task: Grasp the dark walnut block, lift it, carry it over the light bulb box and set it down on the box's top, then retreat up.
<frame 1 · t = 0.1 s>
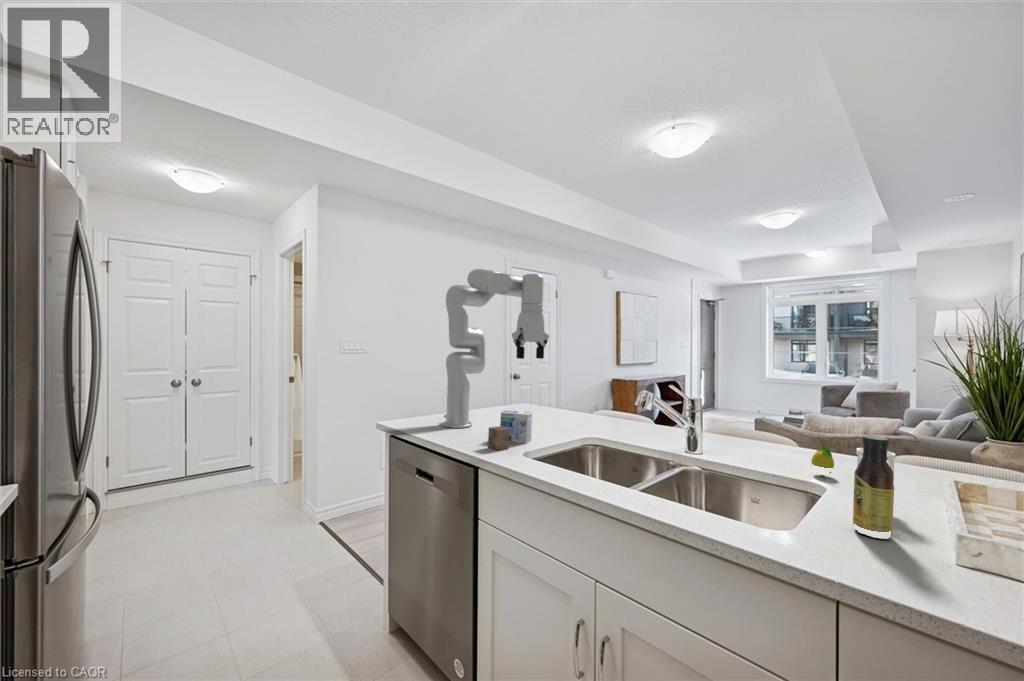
hand: (530, 358, 153), 31 cm above the worktop, tool pointing down, fingers open, 9 cm apart
light bulb box: (515, 441, 163), on the worktop
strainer: (873, 511, 103), on the worktop
walnut block: (498, 448, 150), on the worktop
sauce bottle: (872, 535, 89), on the worktop
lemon: (822, 477, 130), on the worktop
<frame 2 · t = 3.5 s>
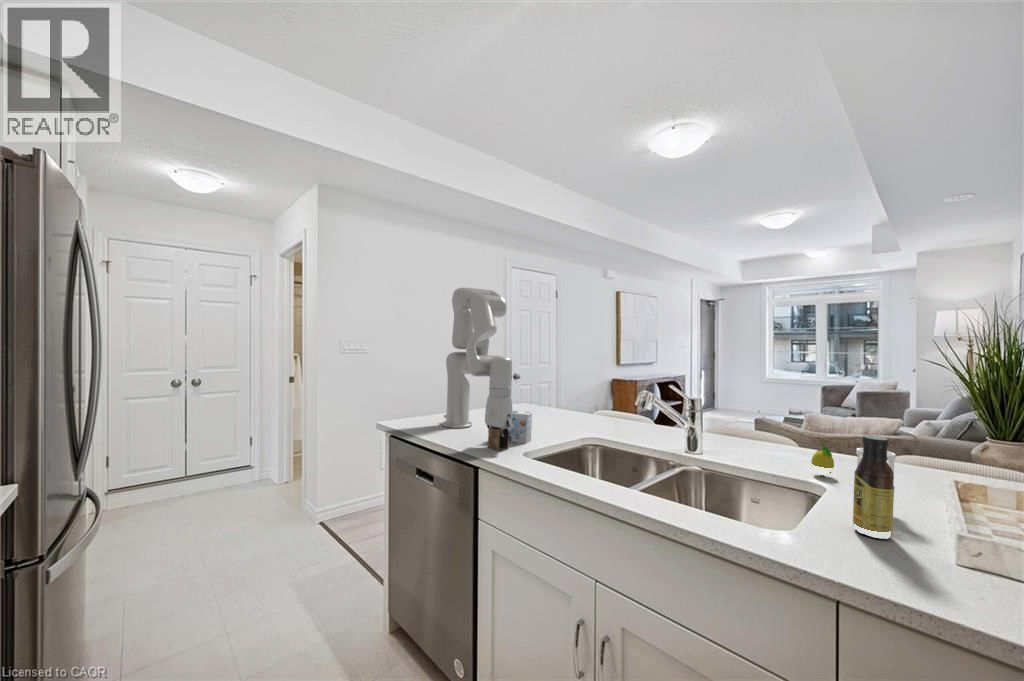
hand: (498, 445, 150), 1 cm above the worktop, tool pointing down, fingers closed on walnut block, 5 cm apart
walnut block: (498, 448, 150), on the worktop, touching gripper
everything else where it was.
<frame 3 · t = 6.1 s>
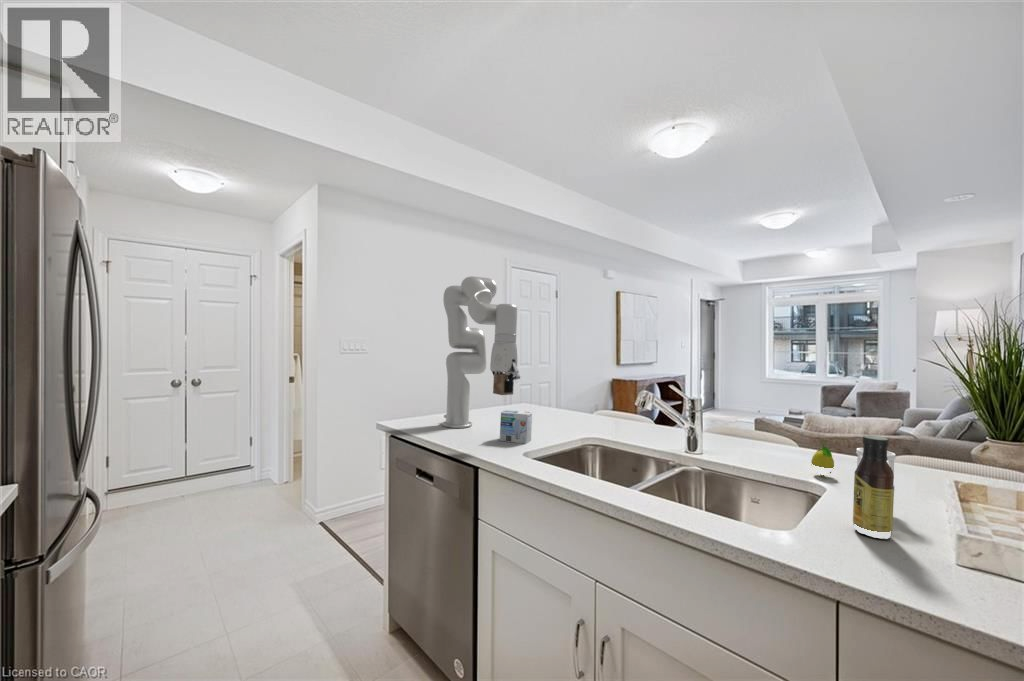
hand: (503, 391, 153), 19 cm above the worktop, tool pointing down, fingers closed on walnut block, 5 cm apart
walnut block: (503, 393, 153), point 18 cm above the worktop, touching gripper
everything else where it was.
when the fingers open (13 cm above the worktop, at t = 8.7 s): walnut block drops 2 cm, resting on light bulb box.
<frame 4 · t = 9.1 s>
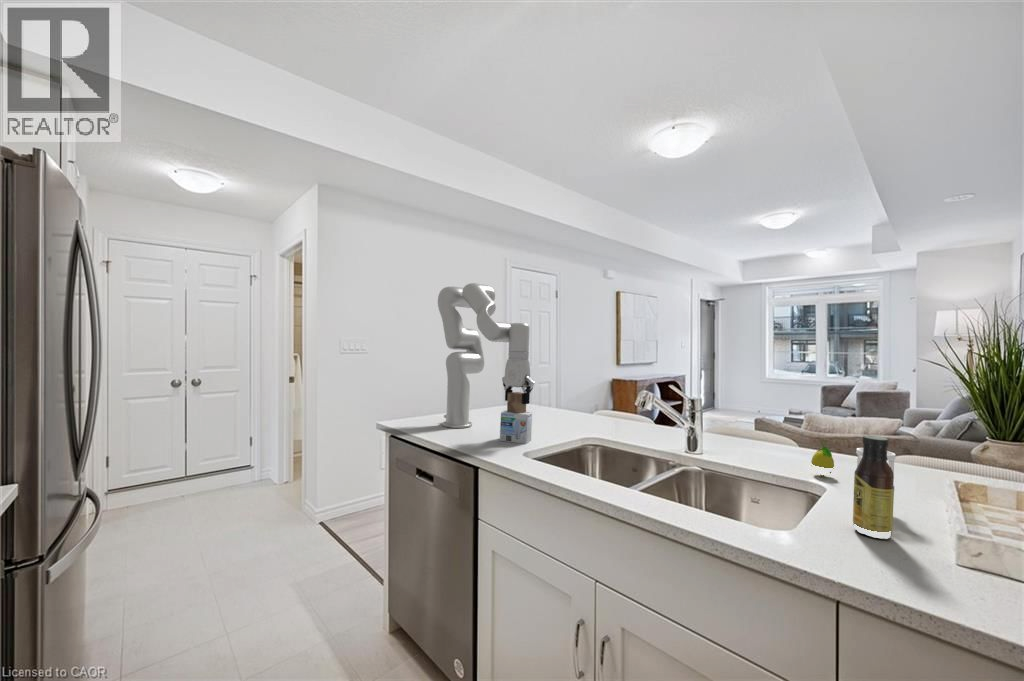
hand: (516, 402, 163), 14 cm above the worktop, tool pointing down, fingers open, 9 cm apart
light bulb box: (515, 441, 163), on the worktop, touching walnut block
walnut block: (516, 411, 163), point 11 cm above the worktop, touching light bulb box
everything else where it was.
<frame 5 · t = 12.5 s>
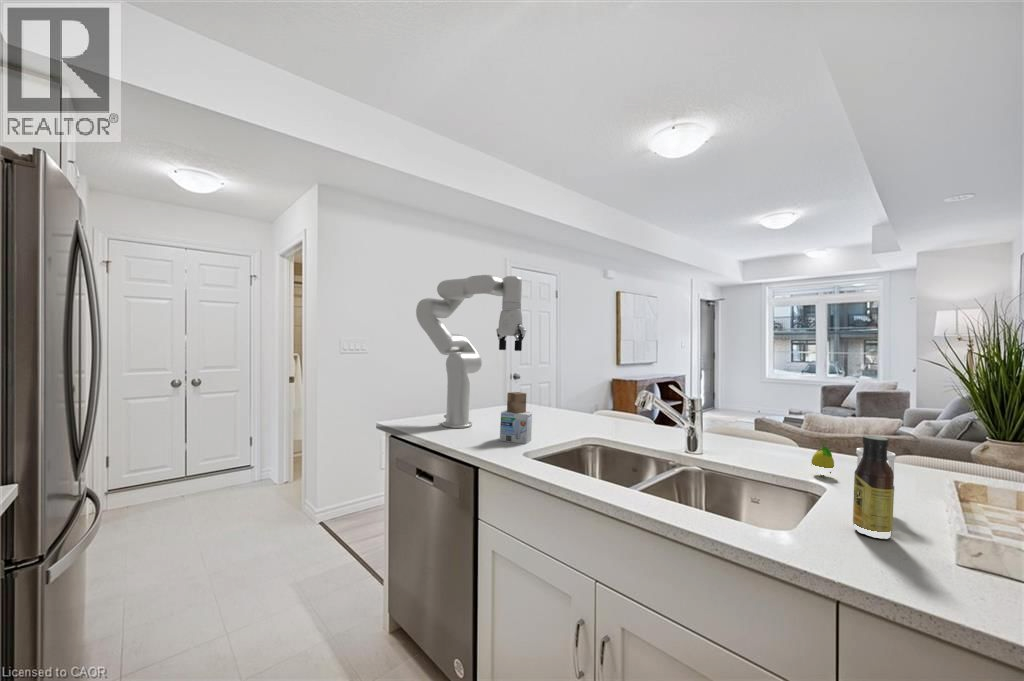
hand: (510, 350, 175), 33 cm above the worktop, tool pointing down, fingers open, 9 cm apart
nothing on the worktop moved.
at the end: walnut block inside the target area on the light bulb box (0.1 cm from its centre), point 11.0 cm above the light bulb box's base; walnut block tilted 0°; the gripper is holding nothing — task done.
